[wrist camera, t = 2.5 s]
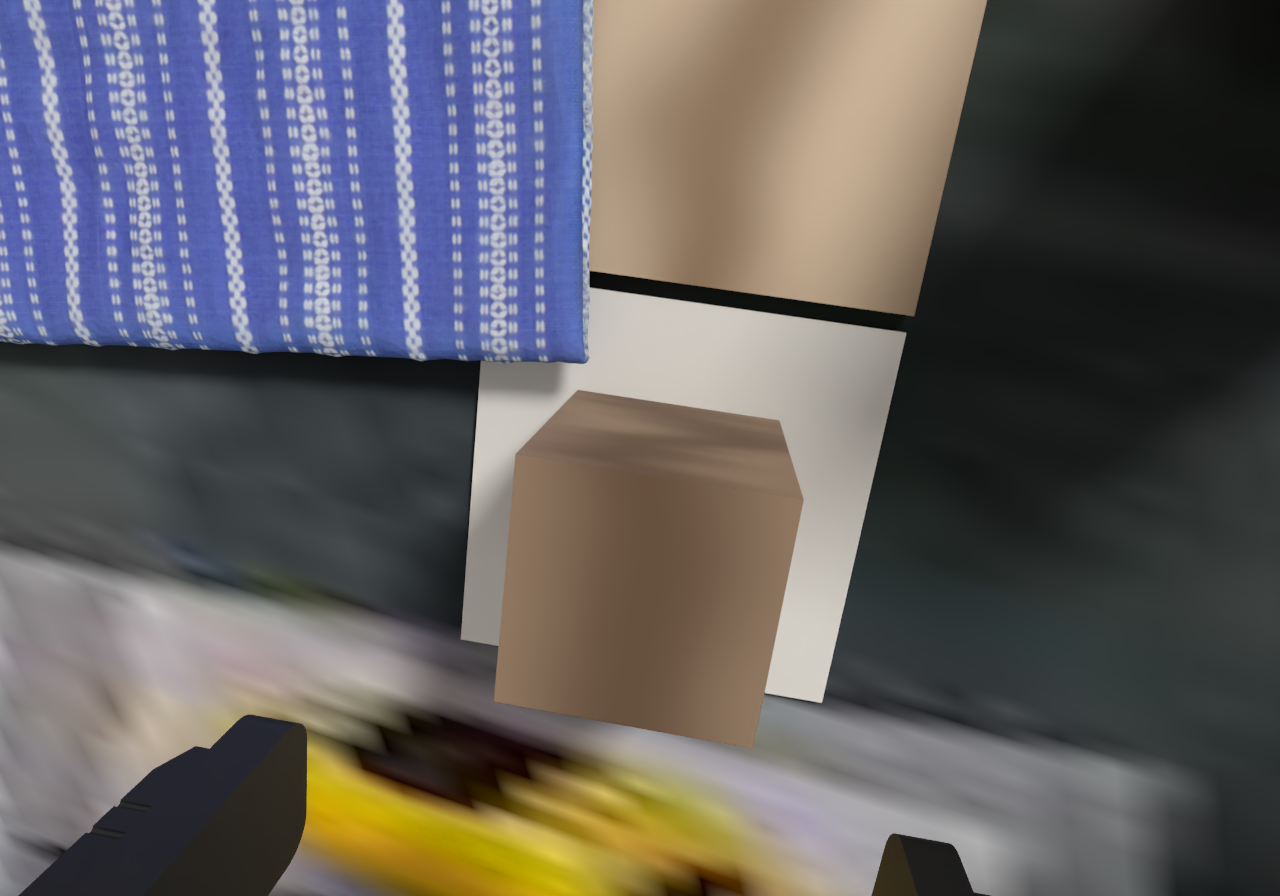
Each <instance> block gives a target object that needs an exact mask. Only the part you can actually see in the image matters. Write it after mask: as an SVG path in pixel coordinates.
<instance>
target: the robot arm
mask: <svg viewBox="0 0 1280 896" xmlns="http://www.w3.org/2000/svg"><path fill="white" fill-rule="evenodd" d="M306 791H307V733H306V729H305V727H304V726H303V725H302V724H299V723H294V722H288V721H283V720H277V719H272V718H266V717H261V716H255V715H246V716H244V717H242V718H241V719H239V720H238V721H237V722H236V723H235V724H234V725H233V726H232V727H231V728H230V729H229V730H228V731H227V732H226V733H225V734H224V735H223V736H222V737H221V738H220V739H219V740H218V741H217V742H216V743H215V744H214V745H213V746H212V747H211V748H210V749H207V748H202V747H196V746H195V747H193V748H192V749H190V750H188V751H186V752H184V753H183V754H181V755H179V756H177V757H175V758H173V759H172V760H170V761H168V762H166V763H164V764H162V765H161V766H159V767H157V768H155V769H153V770H152V771H151V772H150V773H149V774H148V775H147V776H146V777H145V778H144V779H143V780H142V781H141V782H139V783H138V784H137V785H136V786H135V787H134V788H133V789H132V790H131V791H130V792H129V793H128V794H127V795H126V796H124V797H123V798H122V799H121V802H120V804H119V806H118V807H115V806H114V807H113V808H112V809H111V810H110V811H108V812H107V813H106V814H105V815H104V816H103V817H102V818H101V819H100V820H99V821H98V822H97V823H96V824H95V825H94V826H93V829H92V831H91V832H90V833H85V834H84V835H83V836H82V837H81V838H80V839H79V840H77V841H76V842H75V843H74V844H73V845H72V846H71V847H70V848H69V849H68V850H67V851H66V852H65V853H64V854H63V855H61V856H60V857H59V858H58V859H57V860H56V861H55V862H54V863H53V864H52V865H51V866H50V867H49V868H48V869H47V870H45V871H44V872H43V873H42V874H41V875H40V876H39V877H38V878H37V879H36V880H35V881H34V882H33V883H32V884H30V885H29V886H28V887H27V888H26V889H25V890H24V891H23V892H22V893H21V894H20V895H19V896H268V895H269V893H270V892H271V890H272V889H273V887H274V886H275V884H276V883H277V882H278V880H279V879H280V877H281V876H282V874H283V873H284V871H285V870H286V868H287V867H288V865H289V864H290V862H291V860H292V858H293V857H294V855H295V852H296V850H297V848H298V845H299V843H300V840H301V837H302V834H303V830H304V826H305V820H306ZM872 896H990V895H984V894H979V893H973V890H972V888H971V885H970V882H969V880H968V877H967V875H966V872H965V870H964V867H963V865H962V862H961V859H960V857H959V855H958V852H957V850H956V849H955V847H954V846H953V845H952V844H949V843H944V842H938V841H933V840H927V839H922V838H916V837H911V836H905V835H900V834H892V835H890V837H889V838H888V840H887V842H886V845H885V849H884V852H883V856H882V860H881V864H880V867H879V871H878V875H877V878H876V882H875V886H874V889H873V893H872Z"/></svg>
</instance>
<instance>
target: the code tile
mask: <svg viewBox="0 0 1280 896" xmlns="http://www.w3.org/2000/svg"><path fill="white" fill-rule="evenodd" d="M587 336H588V350H589V355H590V358H589V360H588V361H587V363H584V364H577V363H564V362H551V363H542V362H513V363H509V364H501V363H497V362H488V361H481V366H480V380H479V394H478V408H477V422H476V436H475V449H474V463H473V477H472V491H471V505H470V519H469V532H468V546H467V560H466V574H465V588H464V602H463V615H462V629H461V640H467V641H473V642H478V643H484V644H490V645H496V646H499V635H500V624H501V612H502V601H503V590H504V578H505V567H506V556H507V544H508V533H509V522H510V510H511V499H512V488H513V476H514V465H515V454H516V453H517V452H518V451H519V450H520V449H521V448H522V447H523V446H524V445H525V444H526V443H527V442H528V441H529V440H530V439H531V438H532V437H533V436H534V435H535V434H536V432H537V431H538V430H539V429H540V428H541V427H542V426H543V425H544V424H545V423H546V422H547V421H548V420H549V419H550V418H551V417H552V416H553V415H554V414H555V413H556V412H557V411H558V410H559V409H560V408H561V407H562V406H563V405H564V404H565V403H566V402H567V401H568V399H569V398H570V397H571V396H572V395H573V394H574V393H575V392H576V391H577V390H582V391H589V392H595V393H602V394H608V395H615V396H621V397H628V398H635V399H641V400H648V401H654V402H661V403H668V404H674V405H681V406H687V407H694V408H701V409H707V410H714V411H720V412H727V413H734V414H740V415H747V416H753V417H760V418H767V419H773V420H779V421H780V424H781V427H782V430H783V434H784V437H785V440H786V443H787V447H788V450H789V453H790V456H791V460H792V463H793V466H794V470H795V473H796V476H797V479H798V483H799V486H800V489H801V492H802V496H803V499H804V501H803V506H802V511H801V516H800V521H799V526H798V531H797V536H796V541H795V545H794V550H793V555H792V560H791V565H790V570H789V575H788V580H787V585H786V590H785V595H784V599H783V604H782V609H781V614H780V619H779V624H778V629H777V634H776V639H775V644H774V649H773V654H772V658H771V663H770V668H769V673H768V678H767V683H766V688H765V693H768V694H774V695H779V696H785V697H791V698H796V699H802V700H808V701H813V702H819V703H822V700H823V696H824V691H825V687H826V682H827V678H828V674H829V669H830V665H831V661H832V656H833V652H834V648H835V643H836V639H837V634H838V630H839V626H840V621H841V617H842V613H843V608H844V604H845V599H846V595H847V591H848V586H849V582H850V578H851V573H852V569H853V565H854V560H855V556H856V551H857V547H858V543H859V538H860V534H861V530H862V525H863V521H864V517H865V512H866V508H867V503H868V499H869V495H870V490H871V486H872V482H873V477H874V473H875V468H876V464H877V460H878V455H879V451H880V447H881V442H882V438H883V434H884V429H885V425H886V420H887V416H888V412H889V407H890V403H891V399H892V394H893V390H894V386H895V381H896V377H897V372H898V368H899V364H900V359H901V355H902V351H903V346H904V342H905V337H906V332H901V331H894V330H887V329H880V328H873V327H866V326H859V325H852V324H845V323H838V322H831V321H824V320H817V319H810V318H803V317H796V316H789V315H782V314H774V313H767V312H760V311H753V310H746V309H739V308H732V307H725V306H718V305H711V304H704V303H697V302H690V301H683V300H676V299H669V298H662V297H655V296H648V295H641V294H634V293H627V292H620V291H613V290H606V289H599V288H592V287H590V313H589V323H588V335H587Z"/></svg>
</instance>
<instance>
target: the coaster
mask: <svg viewBox="0 0 1280 896" xmlns="http://www.w3.org/2000/svg"><path fill="white" fill-rule="evenodd" d="M986 2H987V0H593V34H594V35H593V42H592V44H593V59H592V68H593V76H592V86H593V94H592V107H593V117H592V124H593V136H592V143H593V150H592V158H591V160H592V173H591V178H592V192H591V200H592V206H591V212H590V215H591V222H590V243H589V271H596V272H603V273H610V274H617V275H624V276H631V277H638V278H645V279H652V280H660V281H667V282H674V283H681V284H688V285H695V286H702V287H709V288H716V289H724V290H731V291H738V292H745V293H752V294H759V295H766V296H773V297H780V298H787V299H795V300H802V301H809V302H816V303H823V304H830V305H837V306H844V307H851V308H859V309H866V310H873V311H880V312H887V313H894V314H901V315H908V316H914V315H915V311H916V306H917V302H918V297H919V293H920V289H921V284H922V280H923V276H924V271H925V267H926V263H927V258H928V254H929V250H930V245H931V241H932V237H933V232H934V228H935V224H936V219H937V215H938V211H939V206H940V202H941V198H942V193H943V189H944V185H945V180H946V176H947V172H948V167H949V163H950V159H951V154H952V150H953V146H954V141H955V137H956V133H957V128H958V124H959V120H960V115H961V111H962V107H963V102H964V98H965V94H966V89H967V85H968V80H969V76H970V72H971V67H972V63H973V59H974V54H975V50H976V46H977V41H978V37H979V33H980V28H981V24H982V20H983V15H984V11H985V7H986Z"/></svg>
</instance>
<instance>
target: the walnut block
mask: <svg viewBox="0 0 1280 896" xmlns="http://www.w3.org/2000/svg"><path fill="white" fill-rule="evenodd" d="M803 501H804V499H803V496H802V492H801V489H800V486H799V483H798V479H797V476H796V473H795V470H794V466H793V463H792V460H791V456H790V453H789V450H788V447H787V443H786V440H785V437H784V434H783V430H782V427H781V424H780V421H779V420H773V419H767V418H760V417H753V416H747V415H740V414H734V413H727V412H720V411H714V410H707V409H701V408H694V407H687V406H681V405H674V404H668V403H661V402H654V401H648V400H641V399H635V398H628V397H621V396H615V395H608V394H602V393H595V392H589V391H582V390H577V391H576V392H575V393H574V394H573V395H572V396H571V397H570V398H569V399H568V401H567V402H566V403H565V404H564V405H563V406H562V407H561V408H560V409H559V410H558V411H557V412H556V413H555V414H554V415H553V416H552V417H551V418H550V419H549V420H548V421H547V422H546V423H545V424H544V425H543V426H542V427H541V428H540V429H539V430H538V431H537V432H536V434H535V435H534V436H533V437H532V438H531V439H530V440H529V441H528V442H527V443H526V444H525V445H524V446H523V447H522V448H521V449H520V450H519V451H518V452H517V453H516V454H515V465H514V476H513V488H512V499H511V510H510V522H509V533H508V544H507V556H506V567H505V578H504V590H503V601H502V612H501V624H500V635H499V646H498V658H497V669H496V680H495V692H494V702H498V703H504V704H509V705H515V706H520V707H526V708H531V709H537V710H542V711H548V712H553V713H559V714H564V715H570V716H575V717H581V718H586V719H592V720H597V721H603V722H609V723H614V724H620V725H625V726H631V727H636V728H642V729H647V730H653V731H658V732H664V733H669V734H675V735H680V736H686V737H691V738H697V739H702V740H708V741H713V742H719V743H724V744H730V745H735V746H741V747H746V748H752V749H753V747H754V742H755V737H756V732H757V727H758V722H759V717H760V712H761V708H762V703H763V698H764V693H765V688H766V683H767V678H768V673H769V668H770V663H771V658H772V654H773V649H774V644H775V639H776V634H777V629H778V624H779V619H780V614H781V609H782V604H783V599H784V595H785V590H786V585H787V580H788V575H789V570H790V565H791V560H792V555H793V550H794V545H795V541H796V536H797V531H798V526H799V521H800V516H801V511H802V506H803Z"/></svg>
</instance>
